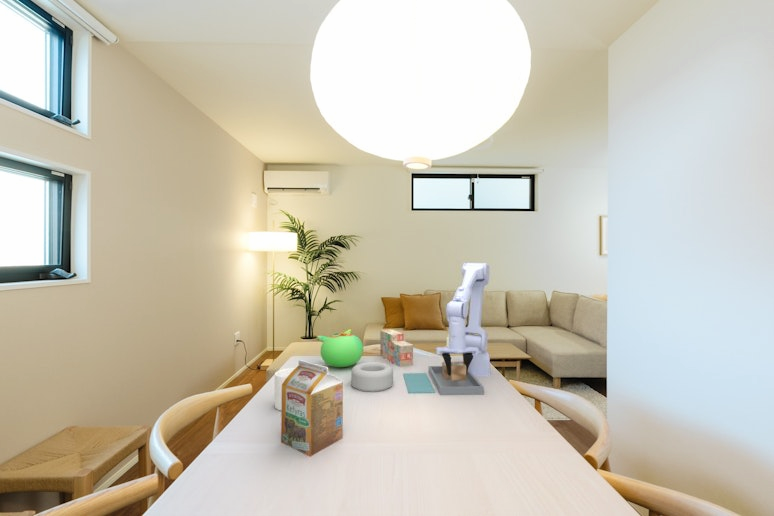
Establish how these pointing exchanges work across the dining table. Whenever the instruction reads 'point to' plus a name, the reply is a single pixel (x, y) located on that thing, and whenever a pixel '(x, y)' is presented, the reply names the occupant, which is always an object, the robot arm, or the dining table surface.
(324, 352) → the toy bird
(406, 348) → the stack of blocks
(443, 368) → the plain box
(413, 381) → the teal board
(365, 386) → the fat ring
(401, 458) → the dining table surface
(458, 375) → the labelled box
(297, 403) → the milk carton
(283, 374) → the mug
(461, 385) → the tray
